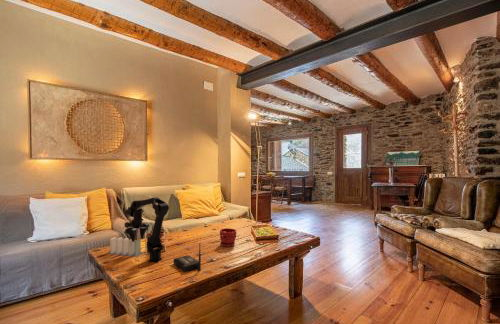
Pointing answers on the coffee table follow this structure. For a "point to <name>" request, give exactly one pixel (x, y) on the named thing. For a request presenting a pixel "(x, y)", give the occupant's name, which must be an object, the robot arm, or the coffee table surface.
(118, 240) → the domino
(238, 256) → the coffee table surface
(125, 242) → the domino
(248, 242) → the coffee table surface
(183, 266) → the black wifi router
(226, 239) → the plant pot
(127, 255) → the mat
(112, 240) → the end domino
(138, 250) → the sage domino
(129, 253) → the domino
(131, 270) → the coffee table surface
